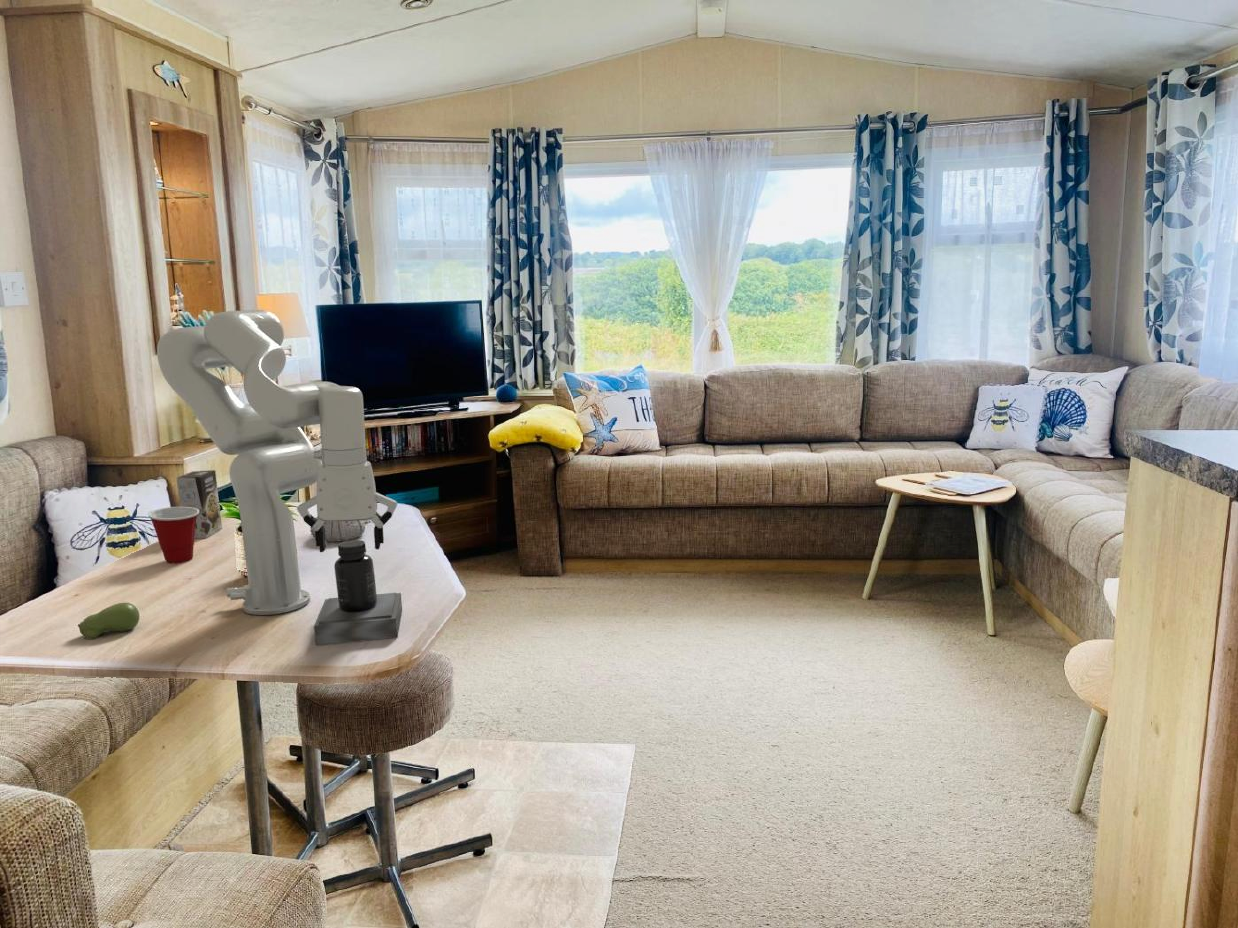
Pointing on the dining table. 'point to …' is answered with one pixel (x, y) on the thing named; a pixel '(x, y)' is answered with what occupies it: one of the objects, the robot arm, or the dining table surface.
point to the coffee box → (201, 500)
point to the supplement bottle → (355, 577)
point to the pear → (110, 620)
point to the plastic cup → (175, 532)
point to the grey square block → (359, 621)
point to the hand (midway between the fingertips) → (350, 548)
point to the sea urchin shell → (342, 530)
